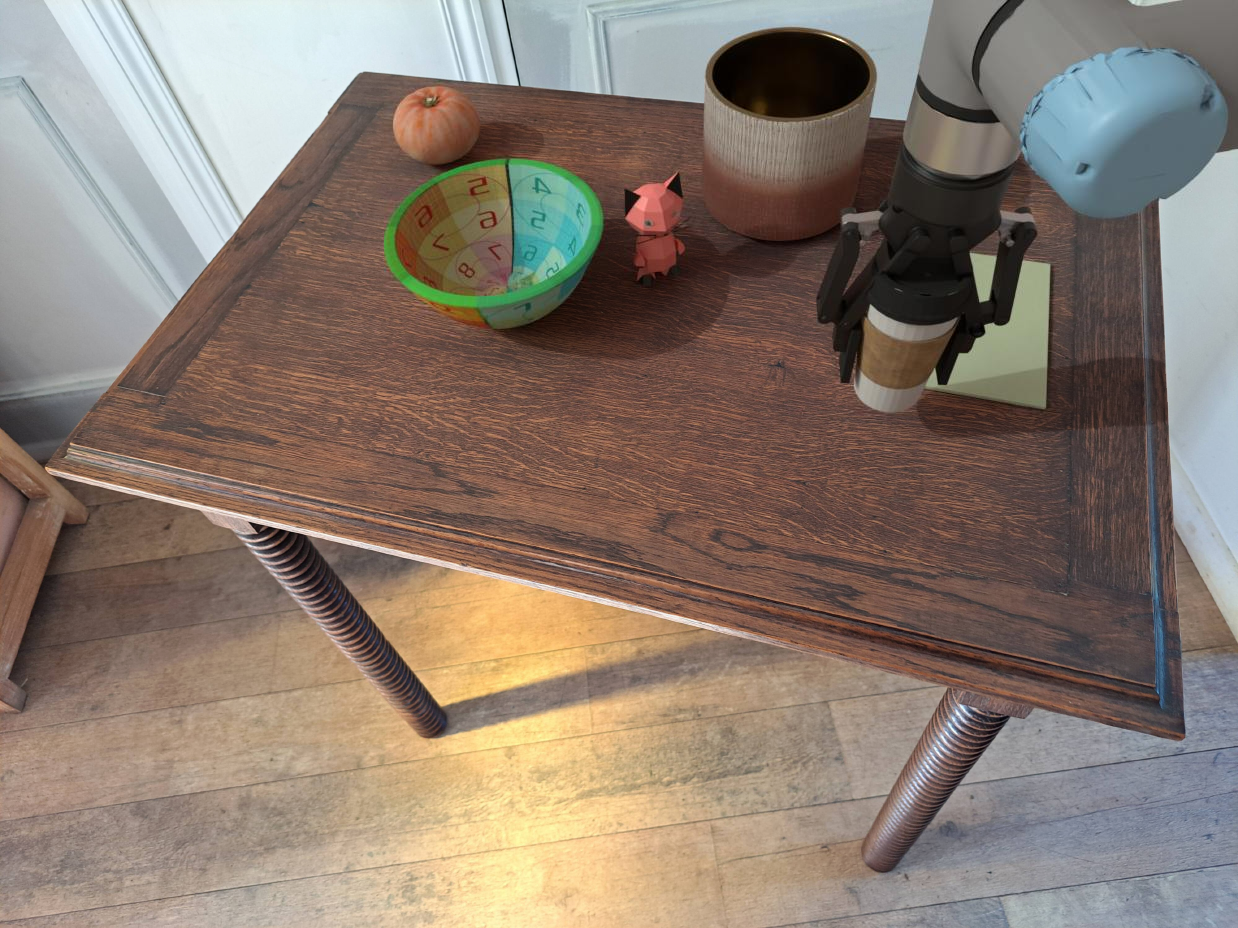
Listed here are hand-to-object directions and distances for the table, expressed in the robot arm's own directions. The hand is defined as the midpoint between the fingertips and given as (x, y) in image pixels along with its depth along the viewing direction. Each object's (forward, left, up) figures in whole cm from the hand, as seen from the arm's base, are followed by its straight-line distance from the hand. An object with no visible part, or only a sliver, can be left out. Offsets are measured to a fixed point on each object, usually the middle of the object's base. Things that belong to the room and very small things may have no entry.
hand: (892, 372), depth 75 cm
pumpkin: (+62, +23, -7) cm, 67 cm away
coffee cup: (0, 0, -2) cm, 2 cm away
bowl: (+33, +25, -7) cm, 42 cm away
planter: (+33, -9, -7) cm, 35 cm away
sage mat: (+6, -16, -7) cm, 19 cm away
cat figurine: (+29, +9, -7) cm, 31 cm away
